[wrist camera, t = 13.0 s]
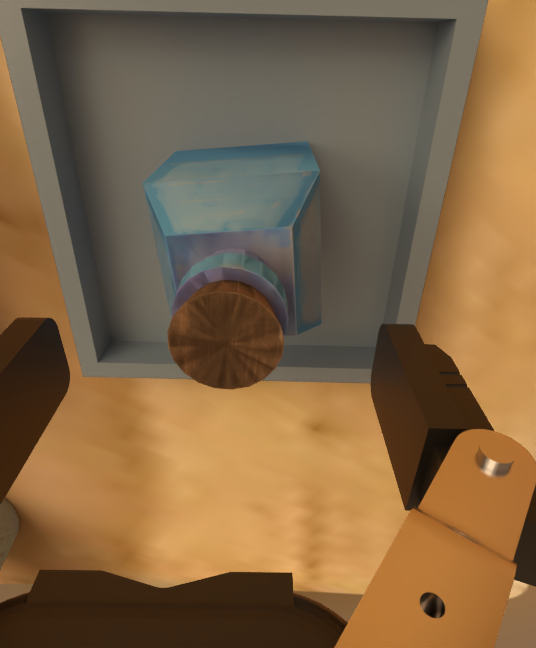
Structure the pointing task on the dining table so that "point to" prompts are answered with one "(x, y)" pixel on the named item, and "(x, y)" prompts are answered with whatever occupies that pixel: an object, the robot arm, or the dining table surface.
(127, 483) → the dining table surface
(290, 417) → the dining table surface
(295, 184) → the perfume bottle
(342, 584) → the dining table surface
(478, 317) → the dining table surface
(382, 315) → the tray
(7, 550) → the grey cup
